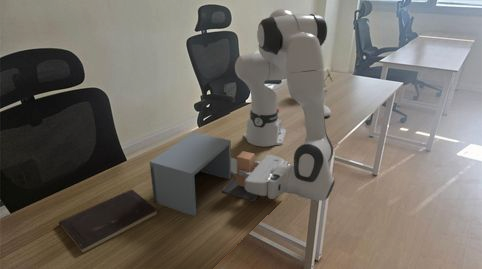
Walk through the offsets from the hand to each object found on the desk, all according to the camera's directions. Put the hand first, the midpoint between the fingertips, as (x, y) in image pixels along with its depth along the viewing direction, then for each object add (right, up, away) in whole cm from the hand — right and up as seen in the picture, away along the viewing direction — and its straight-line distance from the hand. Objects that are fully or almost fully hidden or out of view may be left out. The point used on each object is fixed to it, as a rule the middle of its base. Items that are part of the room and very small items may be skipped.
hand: (243, 167), depth 112 cm
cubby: (-17, -8, +1) cm, 18 cm away
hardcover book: (-40, -15, -13) cm, 45 cm away
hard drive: (-4, -2, +16) cm, 17 cm away
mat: (+1, -7, +3) cm, 8 cm away
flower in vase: (+43, +22, +69) cm, 84 cm away
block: (+1, -6, +2) cm, 6 cm away
